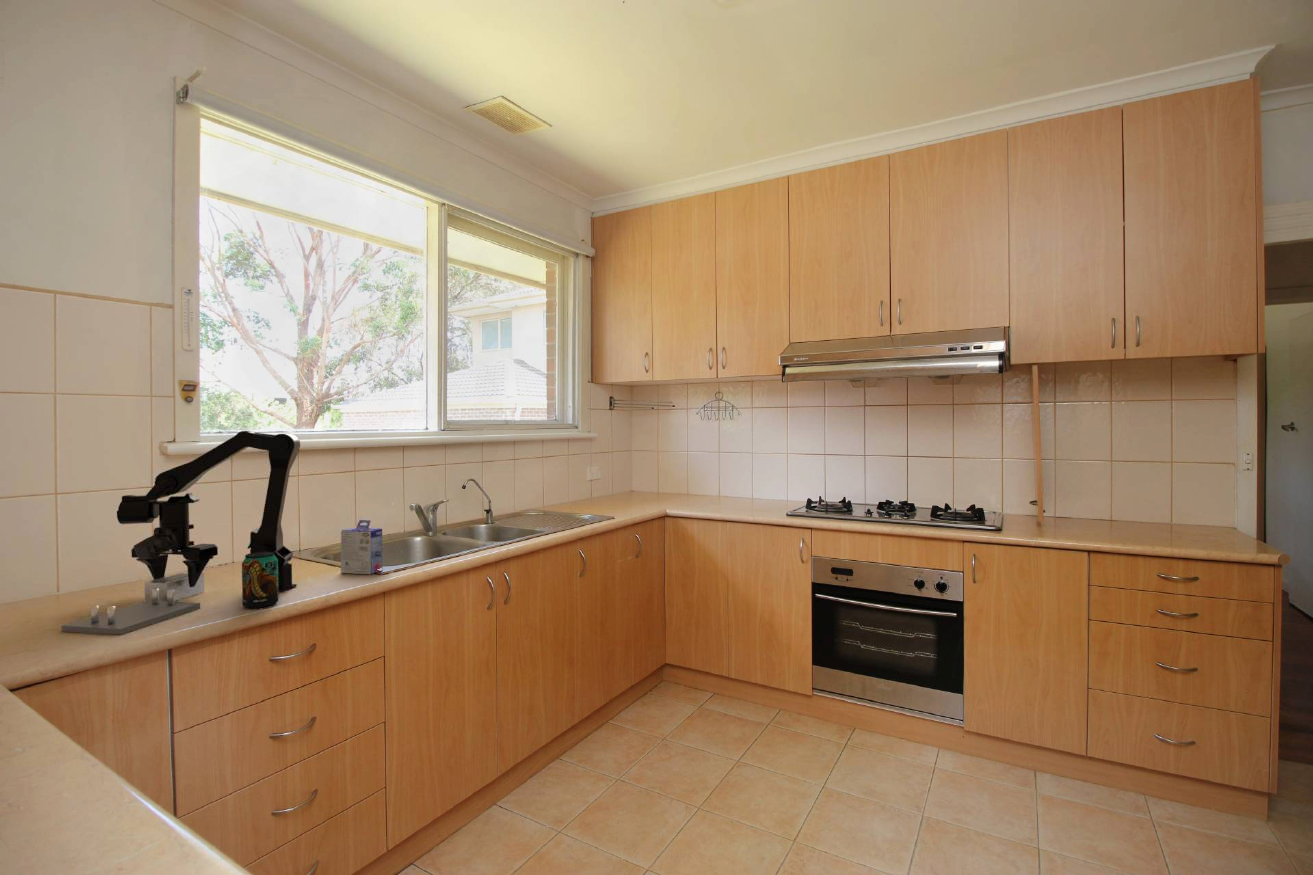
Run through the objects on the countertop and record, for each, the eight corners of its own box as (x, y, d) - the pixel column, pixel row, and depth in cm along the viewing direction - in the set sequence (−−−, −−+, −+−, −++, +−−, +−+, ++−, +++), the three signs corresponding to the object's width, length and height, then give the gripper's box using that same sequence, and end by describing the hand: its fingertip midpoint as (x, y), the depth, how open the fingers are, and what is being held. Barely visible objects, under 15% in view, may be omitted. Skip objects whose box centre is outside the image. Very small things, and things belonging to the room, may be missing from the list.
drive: (204, 592, 155) (204, 572, 155) (167, 604, 145) (166, 582, 145) (183, 591, 156) (183, 571, 156) (144, 603, 146) (144, 581, 146)
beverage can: (240, 611, 139) (239, 558, 138) (244, 603, 145) (243, 552, 144) (277, 607, 142) (276, 555, 141) (279, 599, 148) (278, 549, 148)
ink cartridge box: (384, 570, 177) (383, 520, 177) (371, 575, 172) (370, 523, 171) (353, 568, 179) (352, 518, 179) (340, 573, 174) (339, 522, 173)
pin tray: (200, 608, 141) (199, 587, 141) (120, 634, 123) (119, 611, 123) (147, 605, 143) (147, 585, 143) (61, 631, 126) (60, 608, 126)
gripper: (107, 526, 143) (108, 593, 144) (176, 528, 140) (178, 597, 141) (153, 519, 154) (154, 581, 155) (219, 520, 151) (220, 584, 152)
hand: (175, 586), depth 150 cm, fingers open, 9 cm apart
